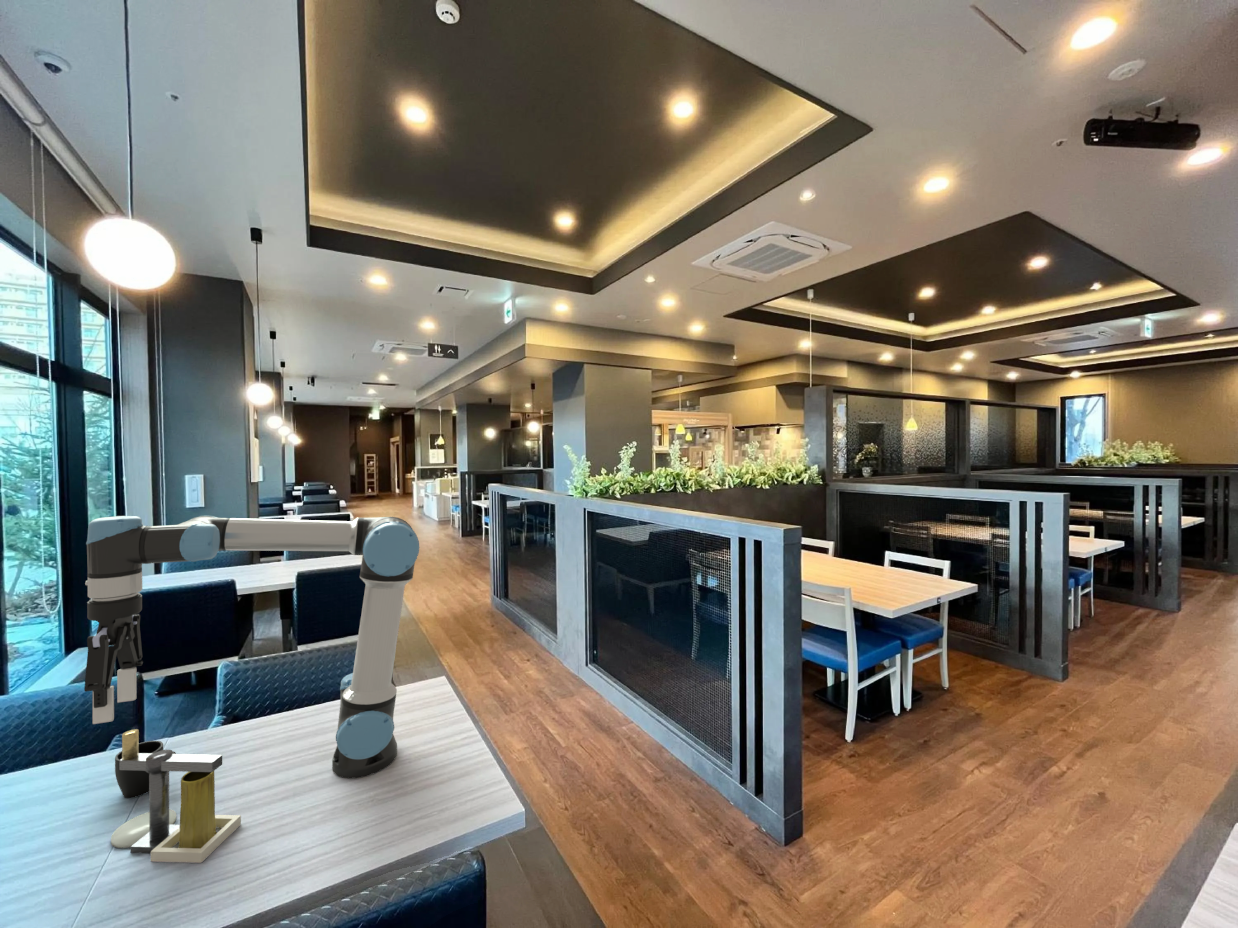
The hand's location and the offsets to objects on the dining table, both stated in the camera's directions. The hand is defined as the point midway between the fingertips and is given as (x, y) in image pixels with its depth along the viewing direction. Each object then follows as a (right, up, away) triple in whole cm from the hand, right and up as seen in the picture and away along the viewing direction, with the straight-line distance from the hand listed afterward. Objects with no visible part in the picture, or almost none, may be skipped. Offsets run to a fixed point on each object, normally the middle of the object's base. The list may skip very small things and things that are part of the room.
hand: (115, 710), depth 97 cm
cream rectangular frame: (+12, -29, +5) cm, 32 cm away
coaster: (-2, -29, +8) cm, 30 cm away
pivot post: (+4, -29, +5) cm, 30 cm away
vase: (+12, -30, +5) cm, 32 cm away
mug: (-13, -29, +20) cm, 37 cm away
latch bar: (+7, -14, +4) cm, 16 cm away
